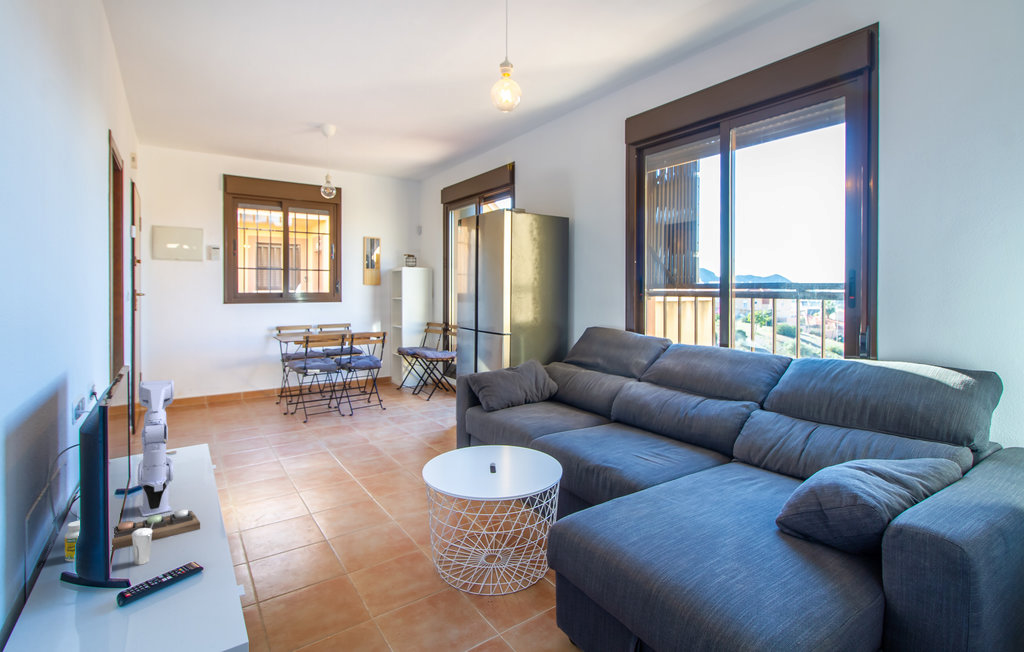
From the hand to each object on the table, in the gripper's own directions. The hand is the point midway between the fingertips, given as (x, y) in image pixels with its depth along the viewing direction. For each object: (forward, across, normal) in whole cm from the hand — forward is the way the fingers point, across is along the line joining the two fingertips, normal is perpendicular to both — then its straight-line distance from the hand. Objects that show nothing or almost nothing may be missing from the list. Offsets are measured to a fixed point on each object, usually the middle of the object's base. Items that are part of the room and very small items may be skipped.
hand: (154, 508), depth 154 cm
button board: (+8, 0, 0) cm, 8 cm away
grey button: (+5, 0, +7) cm, 8 cm away
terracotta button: (+5, 0, -7) cm, 8 cm away
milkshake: (+8, +19, -5) cm, 21 cm away
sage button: (+5, 0, 0) cm, 5 cm away
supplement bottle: (+8, +5, -18) cm, 20 cm away
